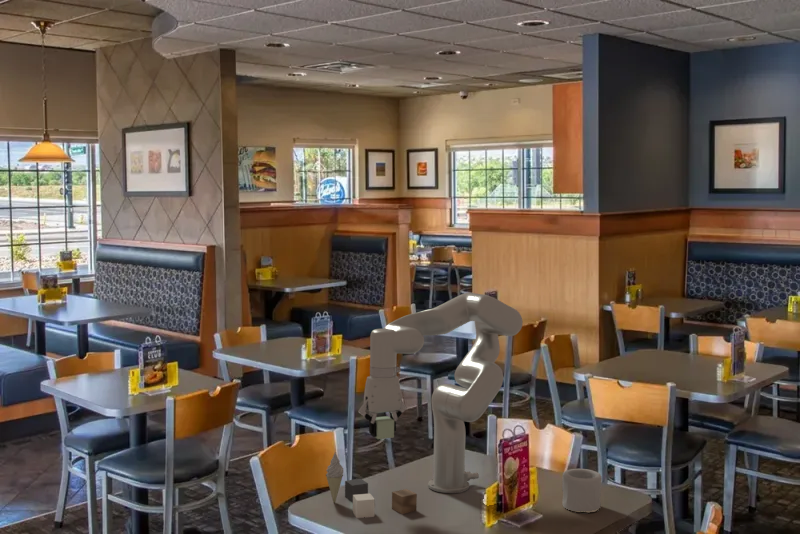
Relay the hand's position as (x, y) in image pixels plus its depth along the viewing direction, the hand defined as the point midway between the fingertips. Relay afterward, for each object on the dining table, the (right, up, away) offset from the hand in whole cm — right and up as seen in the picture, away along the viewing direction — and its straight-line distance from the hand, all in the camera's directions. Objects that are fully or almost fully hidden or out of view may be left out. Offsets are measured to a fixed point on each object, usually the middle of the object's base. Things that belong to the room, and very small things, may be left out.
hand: (382, 434), depth 255 cm
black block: (-8, -20, +6) cm, 22 cm away
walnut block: (+6, -21, -3) cm, 22 cm away
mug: (+57, -21, +2) cm, 60 cm away
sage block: (0, -1, 0) cm, 1 cm away
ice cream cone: (-14, -20, +2) cm, 25 cm away
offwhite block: (-5, -21, -7) cm, 23 cm away
